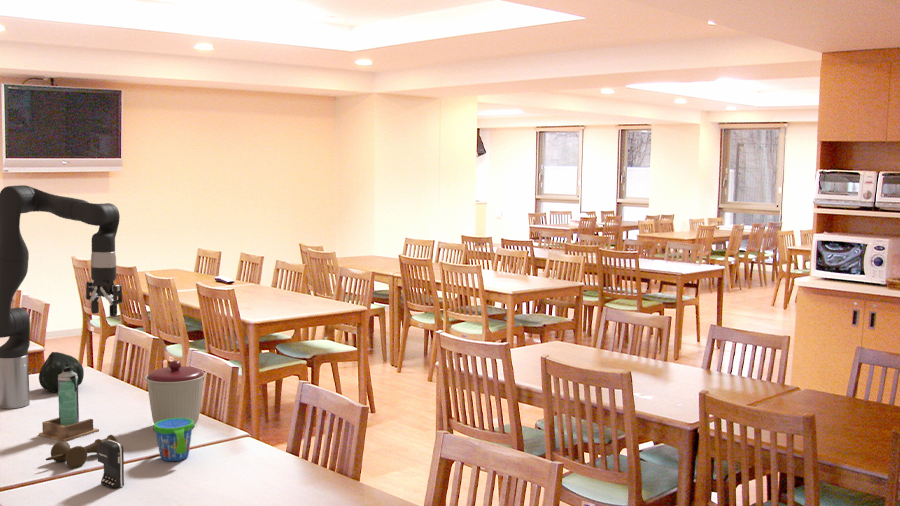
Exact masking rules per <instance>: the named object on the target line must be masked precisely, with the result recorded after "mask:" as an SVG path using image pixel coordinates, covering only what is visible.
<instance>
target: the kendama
mask: <svg viewBox="0 0 900 506" xmlns="http://www.w3.org/2000/svg"><path fill="white" fill-rule="evenodd" d="M107 440H114V441H117V442H118V439H117V437H116V436H115V435H113V434H108V436H107V437H105V438H103V439H100V438H97V439H95V440H94V442H93V443H90V444H88V445H85V446H83V445H75V446H73V447H71V446H70V443H69V441H66V442H65V441H58V442H56V443H55V444H53V445H52V447H51V448H50V457H47V458H45V461H54V462H64V461H65V463H66V466H67V467H68V468H71V469H77V468H79V467H83V465H84V464H85V463H86V461H87V458H88V454H93V453H95V454H97V450H98V445H99V444H100V443H101V442H104V441H107Z"/></svg>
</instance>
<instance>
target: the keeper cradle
mask: <svg viewBox="0 0 900 506" xmlns="http://www.w3.org/2000/svg"><path fill="white" fill-rule="evenodd" d="M41 426H42V431H41V432H39V433H38V436H41V437H43V436H44V438H48V439H52V440H54V441H55V440H56V441H59V440H60V441H59V442H61V441H65V442H69V441H72V440H74V439H75V438H76V439H79V438H82V437H84V436H87V435H91V433H92V434H95V433H98V432H99V431H100V429H99V428H95V427H94V419H93V418H89V419H85V420H82V421H79V422H77V423H74V424H71V425H67V426H64V425H60V424H59V417H57V418H53V419H50V420H46V421H42V425H41ZM97 431H98V432H97ZM94 432H95V433H94ZM81 436H82V437H81ZM78 437H79V438H78Z"/></svg>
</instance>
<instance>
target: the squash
mask: <svg viewBox="0 0 900 506" xmlns="http://www.w3.org/2000/svg"><path fill="white" fill-rule="evenodd" d="M67 366H70V367H71V370H73V372H74V373H77V376H78V387H79V386H80V385H81V384H82V382H83V380H84V373H85V372H84V367H83V366H82V364H81V362H80V361H79V360H78V359H77V358H76V357H74V356H72V355H69V354H66V353H63V352H58V351H51V352H50V353H49V355H48V357H47V358H46V360H45V361H44V363H43V364H42V366H41V368H40V371H39V373H38V381H39V385H40V387H42V389H44V390H45V391H47V392H51V393H54V392H57V393H58V375H59V374H61V373H63V371H64V368H65V367H67Z"/></svg>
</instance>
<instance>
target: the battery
mask: <svg viewBox="0 0 900 506" xmlns="http://www.w3.org/2000/svg"><path fill="white" fill-rule="evenodd" d="M96 454H97V456H96V457H97V462H98V463H101V464H103V474H102V478H101V481H100V484H101V485H102V486H105V487H107V488H109V489H117V488H122V487H124V486H125V480H124V479H125V477H124V476H125V475H124V474H125V473H124V472H125V468H124V467H125V466H124V463H125V462H124V461H125V460H124V459H125V458H124V457H125V456H124V454H125V453H124V447H123V444H122V443H121V442H119V441H118V440H117V441H114V440H107V441H104V442H101V443H100V444H99V445H98V450H97V453H96Z"/></svg>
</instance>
